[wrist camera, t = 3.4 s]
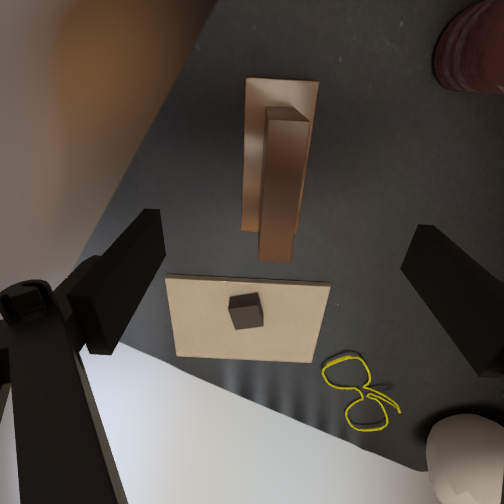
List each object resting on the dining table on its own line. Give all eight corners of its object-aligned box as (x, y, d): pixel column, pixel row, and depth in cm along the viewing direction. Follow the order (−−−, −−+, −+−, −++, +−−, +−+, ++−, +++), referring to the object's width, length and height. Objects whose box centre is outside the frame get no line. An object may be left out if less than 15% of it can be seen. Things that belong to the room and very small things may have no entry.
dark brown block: (236, 317, 40) (235, 330, 38) (229, 296, 38) (227, 309, 36) (263, 313, 40) (263, 326, 37) (257, 292, 38) (257, 304, 35)
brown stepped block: (293, 219, 33) (308, 283, 23) (242, 217, 33) (235, 279, 23) (312, 80, 25) (348, 82, 15) (247, 76, 25) (239, 76, 15)
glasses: (314, 358, 46) (319, 385, 42) (374, 342, 44) (386, 369, 40) (352, 428, 58) (359, 454, 54) (401, 418, 56) (412, 445, 51)
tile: (178, 351, 46) (176, 356, 45) (167, 273, 37) (164, 278, 37) (310, 357, 46) (311, 363, 45) (329, 282, 38) (330, 286, 37)
